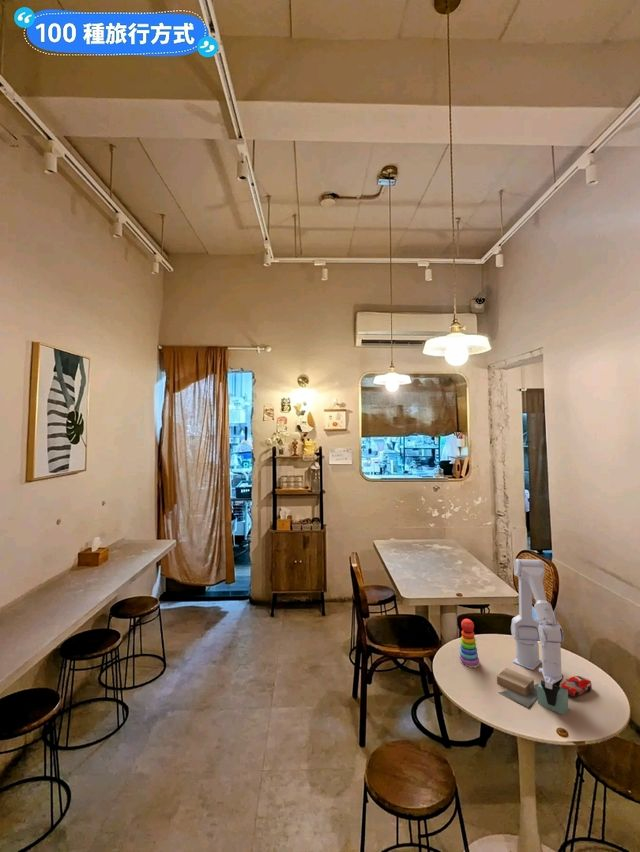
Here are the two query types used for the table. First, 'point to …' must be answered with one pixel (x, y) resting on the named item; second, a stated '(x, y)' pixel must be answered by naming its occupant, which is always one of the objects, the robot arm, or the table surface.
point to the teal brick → (561, 700)
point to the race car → (577, 685)
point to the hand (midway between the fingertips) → (552, 700)
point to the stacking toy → (468, 644)
